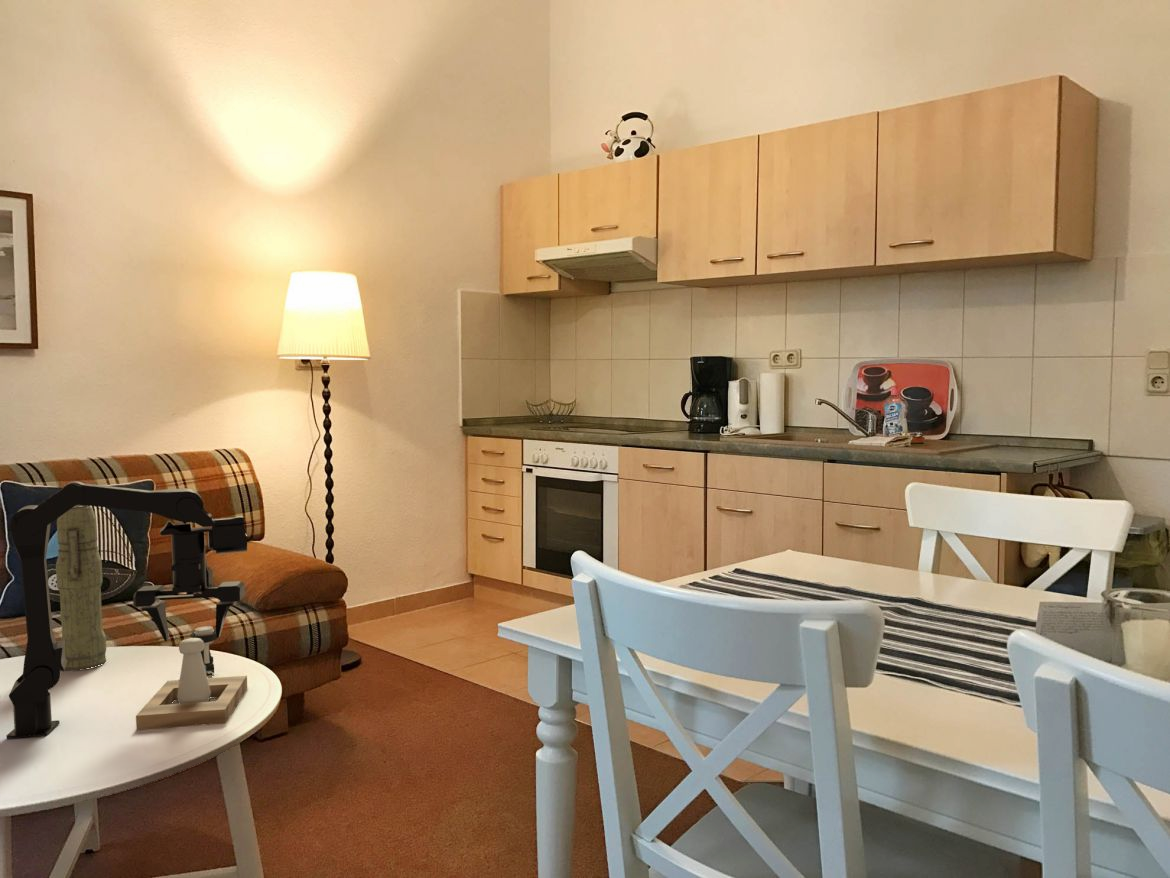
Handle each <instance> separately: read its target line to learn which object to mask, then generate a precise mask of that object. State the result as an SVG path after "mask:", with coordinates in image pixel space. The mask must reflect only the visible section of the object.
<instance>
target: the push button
mask: <svg viewBox="0 0 1170 878" xmlns="http://www.w3.org/2000/svg"><path fill="white" fill-rule="evenodd" d="M189 635H190V638H200V639H201V640H203V642H204V649H203V651H201V655H202V659H203V663H204V667H205V671H206V675H207V677H208V678H213V677H212V676H214V674H215V664H214V656H212V652H211V647H210V644H212V643H214V642H215V641H216V640H217V639H218V638H217V637H216V629H214V627H213V626H212V625H211V626H210V625H206V626H205V625H204V626H199V627H196V628H195V629H194V632H191V633H190V634H189ZM213 673H214V674H213Z"/></svg>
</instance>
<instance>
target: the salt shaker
mask: <svg viewBox="0 0 1170 878" xmlns="http://www.w3.org/2000/svg"><path fill="white" fill-rule="evenodd" d="M203 649H204V642H203V640H201V639H200V638H192V637H189V638H185V639H183V640H181V641H180V642H179V645H178V651H179V653H180V654H182V664H181V668H180V669H181V670H180V676H179V680H180V681H179V687H178V694H177V699H178V700H177V701H178V704H183V703H198V702H209V700H210V699H211V698H210V695H211V691H210V687H209V683H208V679H207V675H206V671H205V667H204V663H203V659H202V655H201V651H203Z"/></svg>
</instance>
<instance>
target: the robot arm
mask: <svg viewBox="0 0 1170 878" xmlns="http://www.w3.org/2000/svg"><path fill="white" fill-rule="evenodd" d="M76 505H87V506H90V507H98V508H106V509H107V508H109V509H110V508H111V509H118V510H127V511H138V512H147V513H149V514H155V515H157V516H160V517H164V518H167V519H171V520H174V521H178V522H181V523H179V524H178V523H177V524H174V523H173V522H172V521H171V520H168V521H167V522H166V524H165V525H164V526H163V527H162V528H160V529H159V534H160V535H161V536H169V535H170V543H171V560H172V561H171V562H172V563H171V566H170V570H171V572H172V583H173V584H172V585H173V586H172V587H171V589H165V588H164V586H163V584H161V585H160V584H159V585H158V584H157V585H143V586H142V587H140V588H139V589H138V590H136V591H135V592H134V593H133V597H132V603H133V607H134V608H139V607H140V608H141V609H140V610H141V612H146V613H147V614H148V615H149V617H150V618H151V619H152V621H153V622H154V624H155V626H156V628H157V630H158V631H159V633H160V635H161V637H162V639H163V641H164V642H168V641H169V625H168V617H167V611H166V609H167V601H171V600H173V601H174V600H189V599H205V598H206V599H207V598H217V599H218V600H219V601H218V602H217V603H216V604H215V630H216V637H217V639H220V637H221V634H222V631H223V628H224V625H225V621H226V618H227V615H228V612H229V609H230V607H232V606H234V605H236V603H237V602H240V601H241V600H243V598H244V597H245V596H246V585H245V583H244V582H243V581H242V580H236V581H235V580H234V581H223V582H221V584H219V585H218V586H214V587H213V574H214V571H213V569H212V568H211V567H208V563H207V558H206V546H205V545H206V544H205V543H206V542H205V533H207V541H208V542H207V544H208V545H207V546H208V550H212V551H214V554H215V555H220V554H221V555H223V554H232V553H245V552H247V551H248V537H247V536H248V535H247V533H246V524H245V517H244V516H243V515H238V516H232V517H224V518H213V515H212V513H208V511H207V510H206V509H205V508H204V502H203V499H202V496H201V495H200V494H199V493H198V492H197V491H196V490H194V489H191V488H186V487H185V488H184V487H183V488H170V489H169V488H167V489H166V488H165V489H157V490H149V489H148V490H147V489H136V488H131V487H130V488H128V487H119V486H118V487H117V486H110V485H103V484H102V485H101V484H93V483H84V482H81V481H77V480H74V481H73V480H72V481H70V482H67V484H65V485H64V486H63V487H62V488H61V489H60V490H58V491H56V492H55V493H53V494H52V495H50V496H49V497H47V498H46V499H44V500H42V501H41V502H39V504H37V505H35V504H34V505H33V504H31V505H26V506H23V507H22V508H20V509H19V510H18V511H16V512H15V513H14V514H13V516H11V518H10V520H9V523H8V530H9V533H10V537H11V541H12V543H13V546H14V548H15V551H16V554H17V555H18V558H19V560H20V561H19V562H20V568H21V579H22V590H23V591H22V592H23V600H24V601H23V603H24V604H23V605H24V613H25V623H26V624H25V626H26V634H27V636H26V637H27V640H26V648H25V654H24V662H23V669H22V674H21V675H20V676H19V677H18V678H17V679H16V680H15V681H14V683H13V685H12V687H11V689H10V692H9V694H8V698H9V700H10V702H11V704H12V708H13V709H12V710H13V711H12V712H13V725H14V727H13V729H12V730H11V731H10V732H8V733H7V734H6V735H5V736H6V737H7V738H6V739H10V738H9V737H19V738H30V737H31V738H32V737H43V736H47V735H48V734H49V733H50V732H52V731H53V730H54V729H55V728H56V727H57V726H58V725H60V720H52V703H51V702H52V700H51V693H50V692H49V690H51V689H52V688H55V686H56V685H57V683H58V682H59V681H60V678H61V675H62V672H65V671H66V670H65V667H66V663H67V659H66V657H65V654H64V648H65V640H63V641H61V640H60V641H57V640H56V639H57V638H56V637H55V635H54V631H53V622H52V610H51V599H50V588H49V587H50V585H49V575H48V566H47V565H48V564H47V553H48V546H49V539H50V532H51V524H52V523H53V522H54V521H57V519H58V518H59V517H60V516H61V515H63V514H64V513H66V512H67V511H68V510H70V509H71V508H73V507H74V506H76ZM191 522H193V523H195V524H196V525H199V526H201V527H192V526H191V525H192V524H191Z"/></svg>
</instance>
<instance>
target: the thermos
mask: <svg viewBox="0 0 1170 878" xmlns="http://www.w3.org/2000/svg"><path fill="white" fill-rule="evenodd" d="M97 525H98V524H97V517H96V514H95V511H94V510H93V506H87V505H76V506H74V507H73V508H71V509H70V510H68V511H67V512H66V513H64V514H63V515H61V516H60V517H59V518H57V519H56V530H57V533H56V534H57V535H56V536H57V544H58V547H59V548H58V552H57V553H58V555H57V559H56V562H55V572H56V573H55V576H56V577H55V578H56V589H57V590H58V592H59V603H60V621H61V622H60V623H61V639H60V641H63V640H65V648H64V654H65V657H66V659H67V663H66V667H65V670H64V671H69V670H76V671H81V670H80V669H86V668H91V667H95V666H98V665H101V664H103V663H105V662H106V663H107V657H106V652H107V636H106V634H105V631H104V629H103V614H102V613H103V610H102V591H101V590H102V589H101V587H102V585H103V565H102V564H103V563H102V557H101V555H100V553H99V547H98V545H97V541H98V526H97ZM106 663H105V664H106ZM101 666H102V665H101ZM95 668H96V667H95ZM91 669H92V668H91ZM86 670H87V669H86Z"/></svg>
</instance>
